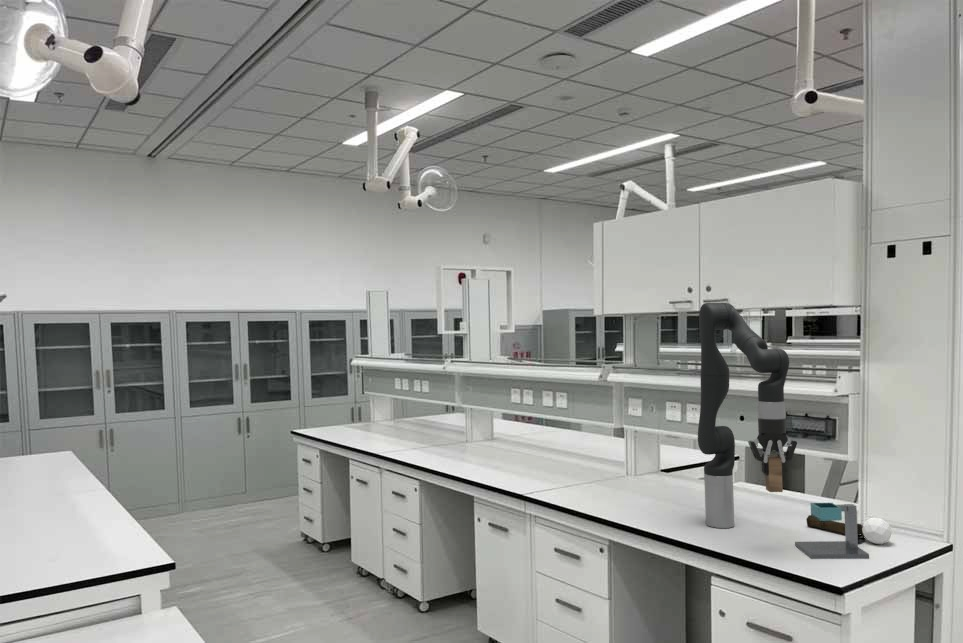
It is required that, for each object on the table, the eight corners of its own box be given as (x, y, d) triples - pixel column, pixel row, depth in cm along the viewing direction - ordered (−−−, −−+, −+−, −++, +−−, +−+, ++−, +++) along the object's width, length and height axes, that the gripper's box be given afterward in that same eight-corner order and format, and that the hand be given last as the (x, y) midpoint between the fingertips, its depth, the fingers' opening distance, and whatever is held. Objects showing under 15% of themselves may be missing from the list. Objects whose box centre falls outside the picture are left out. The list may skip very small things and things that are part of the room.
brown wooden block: (765, 489, 203) (764, 455, 203) (778, 489, 203) (777, 455, 203) (770, 492, 200) (768, 457, 200) (782, 492, 199) (781, 457, 199)
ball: (885, 553, 206) (899, 536, 202) (858, 543, 208) (870, 526, 203) (882, 535, 212) (895, 518, 208) (855, 525, 214) (868, 508, 209)
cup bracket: (795, 545, 207) (793, 500, 208) (849, 545, 206) (847, 500, 206) (811, 558, 195) (809, 510, 196) (869, 558, 194) (867, 510, 194)
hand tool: (805, 527, 226) (805, 513, 226) (813, 525, 228) (812, 511, 228) (861, 542, 210) (860, 527, 210) (868, 540, 212) (868, 525, 212)
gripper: (791, 414, 205) (793, 472, 205) (743, 415, 206) (744, 472, 206) (801, 417, 197) (803, 477, 197) (751, 418, 198) (753, 477, 198)
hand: (773, 474), depth 201 cm, fingers closed on brown wooden block, 3 cm apart
